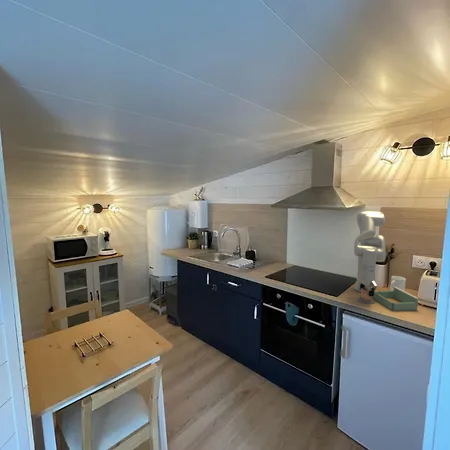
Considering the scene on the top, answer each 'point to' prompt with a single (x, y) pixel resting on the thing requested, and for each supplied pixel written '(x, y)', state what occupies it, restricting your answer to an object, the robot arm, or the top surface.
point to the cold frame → (407, 299)
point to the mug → (397, 283)
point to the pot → (365, 295)
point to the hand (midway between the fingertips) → (366, 293)
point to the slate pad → (366, 302)
